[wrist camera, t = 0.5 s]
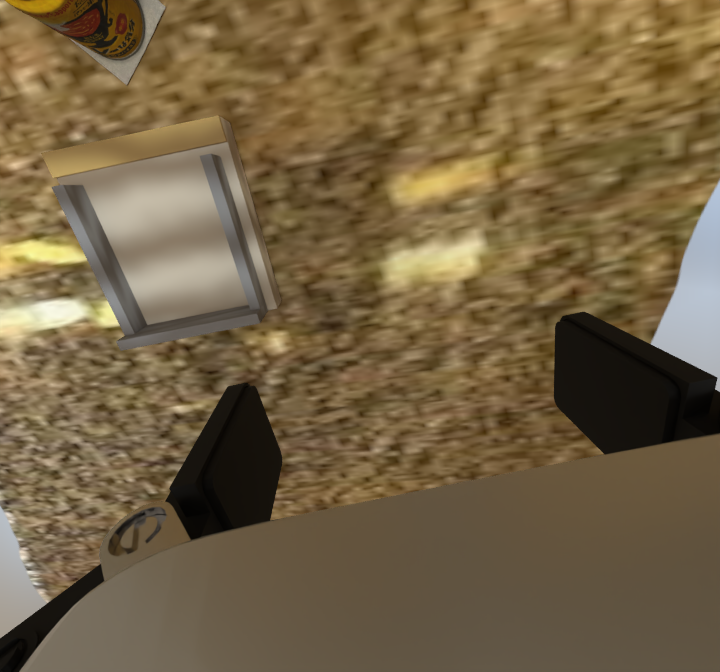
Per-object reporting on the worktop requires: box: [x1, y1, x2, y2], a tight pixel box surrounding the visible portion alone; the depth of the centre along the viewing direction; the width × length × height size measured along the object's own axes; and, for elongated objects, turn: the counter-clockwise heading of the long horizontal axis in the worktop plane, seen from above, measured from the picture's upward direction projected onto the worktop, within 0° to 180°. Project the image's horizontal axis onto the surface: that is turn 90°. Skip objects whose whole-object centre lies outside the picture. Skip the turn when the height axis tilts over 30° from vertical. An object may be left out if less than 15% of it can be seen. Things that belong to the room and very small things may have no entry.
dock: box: [41, 115, 281, 351], centre depth 33 cm, size 18×16×7 cm
